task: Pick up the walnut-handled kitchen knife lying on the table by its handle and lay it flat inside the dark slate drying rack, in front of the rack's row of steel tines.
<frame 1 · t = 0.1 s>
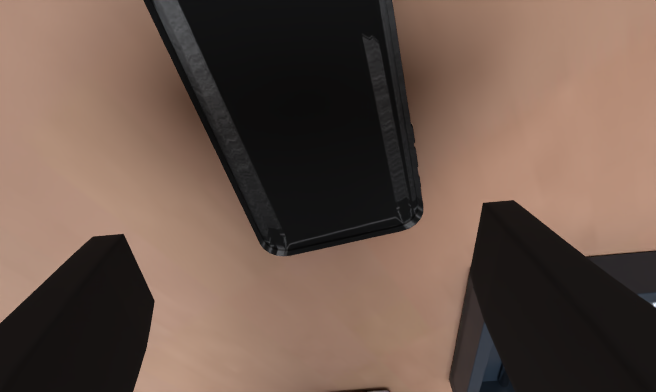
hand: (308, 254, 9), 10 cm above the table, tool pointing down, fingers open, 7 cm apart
drying rack: (596, 318, 28), on the table
phone: (303, 89, 18), on the table
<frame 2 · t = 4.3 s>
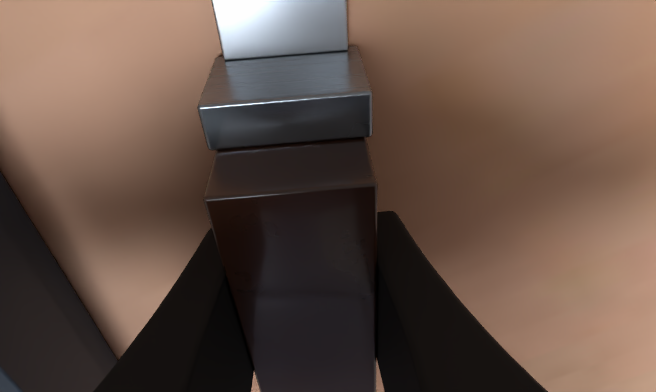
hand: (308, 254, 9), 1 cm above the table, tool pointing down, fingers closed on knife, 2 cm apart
knife: (291, 91, 9), on the table, touching gripper
when the fingers open (3 cm above the table, at t = 7.9 s): knife stays where it is, resting on drying rack.
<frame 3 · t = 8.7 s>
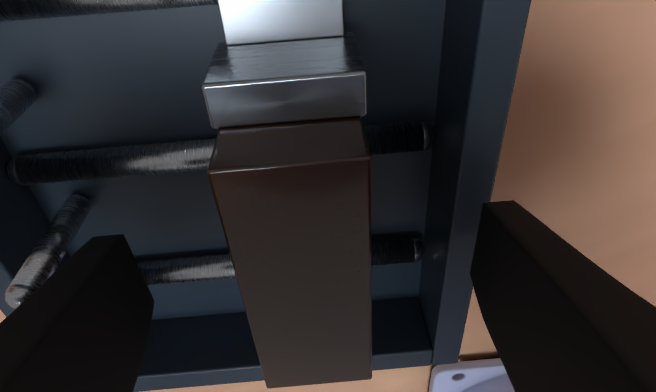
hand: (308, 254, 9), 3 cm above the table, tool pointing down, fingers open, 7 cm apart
knife: (290, 76, 9), point 1 cm above the table, touching drying rack
drying rack: (213, 59, 10), on the table
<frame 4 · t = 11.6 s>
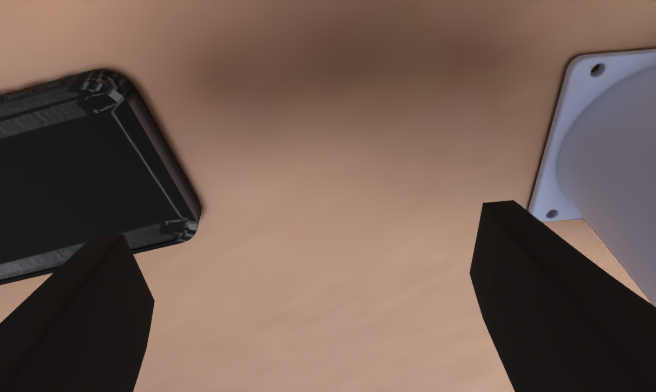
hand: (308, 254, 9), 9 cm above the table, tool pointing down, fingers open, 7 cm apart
phone: (8, 189, 19), on the table
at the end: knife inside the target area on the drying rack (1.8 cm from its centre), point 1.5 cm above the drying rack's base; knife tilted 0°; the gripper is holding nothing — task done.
